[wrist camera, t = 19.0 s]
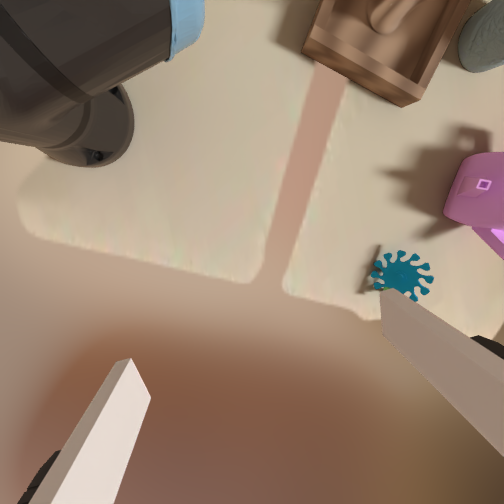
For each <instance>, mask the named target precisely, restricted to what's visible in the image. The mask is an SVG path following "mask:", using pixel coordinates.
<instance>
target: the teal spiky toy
mask: <svg viewBox="0 0 504 504" xmlns="http://www.w3.org/2000/svg"><path fill="white" fill-rule="evenodd" d="M397 255H398V257H397V260H396V261H395V262H394V263H391V262H390V258H391V257H392V254H391V253H387V254H384V258H385V259H386V261H387V268H383V267H382V262H381V261H380V260H378V261H376V262H375V263H374V265H375V266H376V267H378V268H380V269H381V270H382V272H383V276H380V275H379V274H378V272H377V271H373V272H372V273H371V277H373V278H380V279H382V280H384V282H385V284H380V283H379V282H375V283H374V287H375V289H379V288H381V287H384V288H383V290H388V289H391V288H394V289H396V290H397V291H399V292H401V293H402V294H404V293H405V292H406V291H410V292H411V294H412V295H411V296H410V297H409V298H410V299H411V300H413V301H414V302H416V301H418V297H417V296H416V295H415V293H414V287H415V286H419V287H420V288H421V294H422V295H426V294H428V293H429V292H430V290H429V289H428V288H426V287H424V286H422V285H421V284H420V282H419V281H418V279H419V278H424V279H425V281H426V282H427V283H429V284H431V283H432V282H433V279H434V277H433V276H424V275H421V274H419V273H418V272H417V269H419V268H421V269H423V270H425V271H428V270H430V266H429V263H424V264H423V265H420V266H412V265H410V261H418V260H419V259H420V257H419V256H418V255H417V254H416V253H415V254H413V255H412V256H411V258H410V259H409V260H408V261H405V262H401V261H400V258H401V257H403V256H405V255H406V252H404V251H401V250H399V251H398V252H397Z"/></svg>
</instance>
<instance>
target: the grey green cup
mask: <svg viewBox="0 0 504 504" xmlns="http://www.w3.org/2000/svg"><path fill="white" fill-rule="evenodd" d="M458 54H459V58H460V61H461V64H462V65H463V67H464V68H465V69H466V70H468V71H470V72H474V73H478V72H484V71H487V70H490V69H493V68H495V67H498V66H501V65H503V64H504V0H492V1H491V2H489V3H488V4H486V5H485V6H484V7H483V8H481V9H480V10H479V11H477V12H476V13H475V14H474V15H473V16H472V17H471V18H470V19H469V20H468V21H467V23H466V24H465V26H464V28H463V30H462V32H461V35H460V36H459V42H458Z"/></svg>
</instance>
